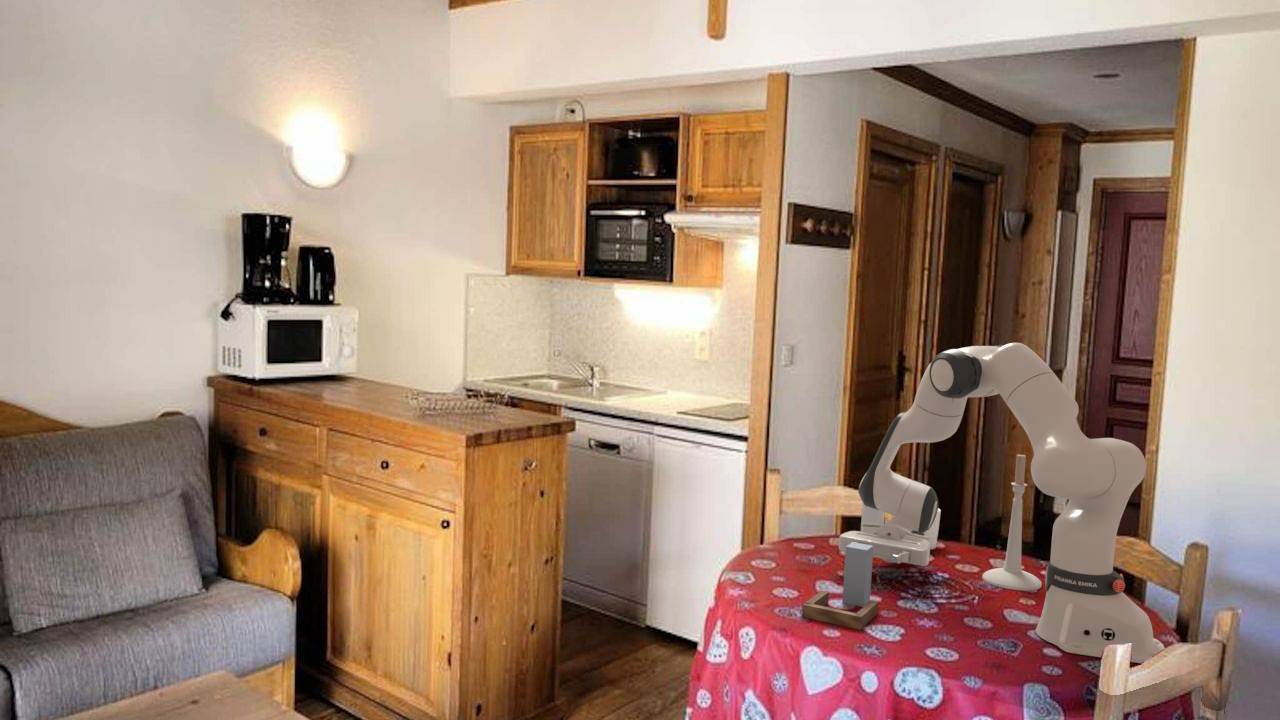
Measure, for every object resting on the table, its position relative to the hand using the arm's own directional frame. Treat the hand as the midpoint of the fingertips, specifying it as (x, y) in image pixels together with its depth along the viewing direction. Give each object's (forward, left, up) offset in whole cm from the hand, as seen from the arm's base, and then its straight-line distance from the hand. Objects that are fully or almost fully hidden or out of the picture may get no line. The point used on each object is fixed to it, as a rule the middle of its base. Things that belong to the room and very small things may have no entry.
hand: (874, 555), depth 217 cm
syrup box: (+12, -38, -7) cm, 40 cm away
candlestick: (-25, -25, -7) cm, 36 cm away
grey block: (0, +12, -7) cm, 14 cm away
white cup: (0, -43, -7) cm, 43 cm away
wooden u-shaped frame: (0, +23, -7) cm, 24 cm away
